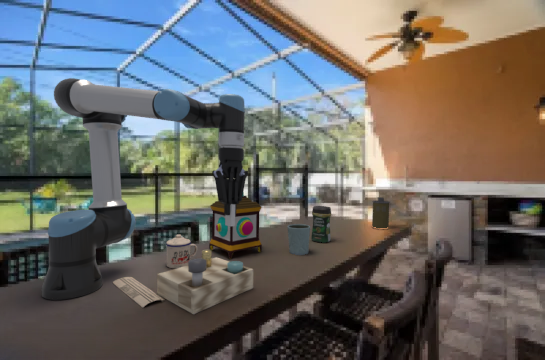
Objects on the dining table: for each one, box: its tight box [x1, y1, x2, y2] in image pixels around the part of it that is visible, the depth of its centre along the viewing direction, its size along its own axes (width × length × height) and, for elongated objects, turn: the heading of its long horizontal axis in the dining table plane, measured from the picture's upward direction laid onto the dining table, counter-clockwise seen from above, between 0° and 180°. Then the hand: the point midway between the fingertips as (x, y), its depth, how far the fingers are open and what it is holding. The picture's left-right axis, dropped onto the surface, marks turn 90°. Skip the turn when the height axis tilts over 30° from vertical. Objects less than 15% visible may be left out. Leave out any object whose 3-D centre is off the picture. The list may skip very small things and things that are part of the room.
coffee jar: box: [311, 205, 332, 244], centre depth 152 cm, size 10×8×19 cm
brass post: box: [201, 248, 213, 268], centre depth 93 cm, size 3×3×5 cm
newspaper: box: [112, 276, 166, 309], centre depth 87 cm, size 24×7×2 cm, turn 46°
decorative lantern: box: [208, 191, 263, 260], centre depth 130 cm, size 20×20×30 cm
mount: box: [156, 256, 254, 315], centre depth 88 cm, size 22×18×6 cm
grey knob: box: [188, 258, 206, 286], centre depth 79 cm, size 5×5×6 cm
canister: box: [371, 196, 391, 228], centre depth 188 cm, size 11×10×20 cm
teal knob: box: [227, 260, 244, 274], centre depth 90 cm, size 5×5×6 cm
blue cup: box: [286, 223, 311, 256], centre depth 131 cm, size 10×10×12 cm
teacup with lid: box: [165, 234, 198, 269], centre depth 112 cm, size 12×9×12 cm
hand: (230, 225), depth 88 cm, fingers closed
